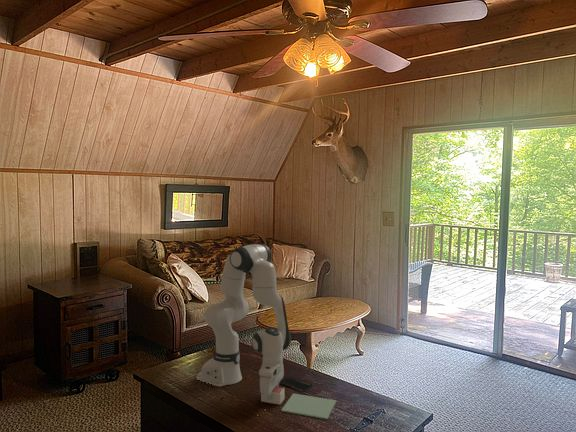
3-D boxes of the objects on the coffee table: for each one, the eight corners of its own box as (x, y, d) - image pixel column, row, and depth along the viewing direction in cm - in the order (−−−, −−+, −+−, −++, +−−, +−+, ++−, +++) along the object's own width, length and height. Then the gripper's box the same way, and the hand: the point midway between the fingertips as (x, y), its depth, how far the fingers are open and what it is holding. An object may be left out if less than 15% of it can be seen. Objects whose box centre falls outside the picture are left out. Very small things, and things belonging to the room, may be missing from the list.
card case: (261, 401, 190) (261, 389, 190) (265, 395, 196) (265, 384, 195) (280, 404, 187) (280, 393, 187) (284, 399, 193) (284, 387, 192)
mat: (281, 411, 182) (281, 409, 182) (293, 394, 197) (293, 393, 197) (327, 419, 175) (327, 418, 175) (336, 401, 190) (336, 400, 190)
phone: (288, 376, 214) (313, 384, 206) (288, 379, 215) (313, 387, 206) (278, 382, 208) (304, 390, 199) (278, 384, 208) (304, 393, 199)
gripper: (274, 356, 202) (274, 385, 202) (257, 373, 182) (257, 405, 183) (287, 357, 200) (287, 387, 200) (271, 375, 180) (271, 407, 181)
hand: (272, 395), depth 191 cm, fingers closed on card case, 5 cm apart
